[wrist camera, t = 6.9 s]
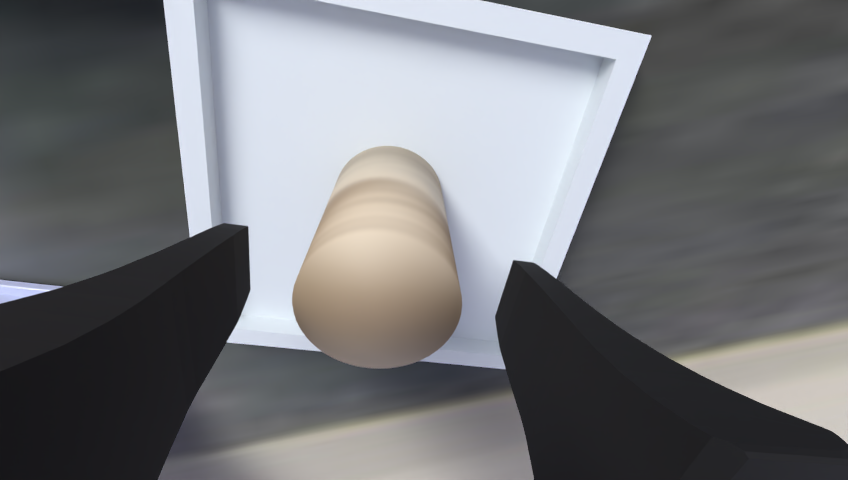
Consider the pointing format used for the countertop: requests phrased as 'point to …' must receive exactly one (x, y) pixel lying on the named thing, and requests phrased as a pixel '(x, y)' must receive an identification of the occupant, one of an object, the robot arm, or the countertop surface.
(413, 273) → the birch peg
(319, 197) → the white tray
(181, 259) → the robot arm
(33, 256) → the countertop surface
